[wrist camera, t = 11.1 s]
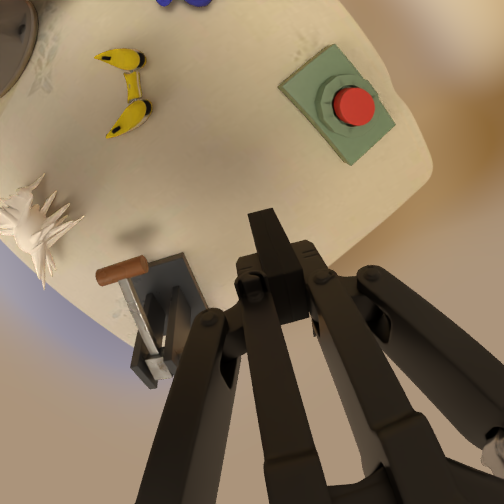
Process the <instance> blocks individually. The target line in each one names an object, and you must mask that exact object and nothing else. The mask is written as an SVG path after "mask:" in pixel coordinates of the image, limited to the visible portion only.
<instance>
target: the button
mask: <svg viewBox="0 0 504 504" xmlns="http://www.w3.org/2000/svg"><path fill="white" fill-rule="evenodd" d="M333 106H334V111H335V113H336V115H337V117H338V118H339V119H340V120H341V121H343V122H345V123H348V124H352V125H356V126H361V125H365V124H366V123H368V122H369V121H370V120H371V119H372V117H373V115H374V112H375V104H374V101H373V99H372V97H371V95H370V94H369V93H368V92H367V91H365V90H364V89H361V88H344V89H342V90H340V91H339V92H338V93H337V94H336V96H335V98H334V103H333Z"/></svg>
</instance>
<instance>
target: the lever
mask: <svg viewBox="0 0 504 504" xmlns="http://www.w3.org/2000/svg"><path fill="white" fill-rule="evenodd" d="M148 270H149V267H148V263H147V260H146V258H145V257H144V256H143V255H141V256H138V257H134V258H131V259H128V260H125V261H122V262H119V263H116V264H113V265H110V266H107V267H104V268H101V269H98V270H97V271H96V280H97V282H98V284H99V285H100V286H105V285H109V284H112V283H115V282H119V285H120V287H121V290H122V292H123V295H124V297H125V300H126V302H127V305H128V307H129V309H130V312H131V314H132V316H133V319H134V321H135V323H136V326H137V328H138V330H139V332H140V334H141V337H142V339H143V341H144V343H145V345H146V347H147V349H148V351H149V353H148V355H147V357H146V359H145V362H146V364H147V366H148V368H149V370H150V372H151V373H152V375H153V377H154V379H155V380H161V379H167V378H172V377H173V374H172V373H171V371H170V370H169V369H168V367H167V366H166V365H165V364H164V362H163V358H164V349H165V347H160V346H159V344H158V342H157V340H156V338H155V335H154V333H153V331H152V329H151V326H150V324H149V322H148V320H147V317H146V315H145V312H144V310H143V308H142V305H141V303H140V300H139V298H138V295H137V293H136V290H135V288H134V285H133V282H132V280H131V278H132V277H135V276H138V275H142V274H145V273H148Z"/></svg>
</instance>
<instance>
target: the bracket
mask: <svg viewBox="0 0 504 504" xmlns="http://www.w3.org/2000/svg"><path fill="white" fill-rule="evenodd" d="M148 267H149V270H148V273H145V274H142V275H138V276H135V277H132V278H131V280H132V282H133V285H134V288H135V290H136V293H137V295H138V298H139V300H140V303H141V305H142V308H143V310H144V312H145V315H146V317H147V320H148V322H149V324H150V326H151V329H152V331H153V333H154V335H155V338H156V340H157V342H158V344H159V346H160V347H162V339H163V336H165V335H166V340H165V349H164V358H163V362H164V364H165V365H166V366H167V367H168V369H169V370H170V371H171V373H172V374H173V375H174V376H175V373H176V370H177V367H178V364H179V361H180V358H181V355H182V352H183V349H184V346H185V343H186V341H187V338H188V335H189V332H190V329H191V326H192V323H193V321H194V319H195V317H196V315H198V314H199V313H200V312H201V311H203V310H205V309H209V308H208V306H207V304H206V302H205V300H204V298H203V295H202V293H201V291H200V289H199V287H198V285H197V282H196V280H195V278H194V276H193V274H192V271H191V269H190V267H189V265H188V262H187V260H186V258H185V256H184V253H181V254H178V255H174V256H171V257H168V258H164V259H161V260H158V261H155V262H151V263H148ZM148 353H149V351H148V349H147V347H146V345H145V343H144V341H143V339H142V337H141V334H140V332H139V330H138V332H137V337H136V341H135V346H134V351H133V356H132V361H131V366H130V368H131V369H132V370H133V371H134V372H135V374H136V375H137V376H138V377H139V378H140V379H141V380H142V381H143V382H144V383H145V385H146V386H147V387H148V388H149V389H155V388H157V383H158V380H155V379H154V377H153V375H152V373H151V372H150V370H149V368H148V366H147V364H146V362H145V359H146V357H147V355H148Z"/></svg>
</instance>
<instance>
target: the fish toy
mask: <svg viewBox="0 0 504 504" xmlns="http://www.w3.org/2000/svg"><path fill="white" fill-rule="evenodd" d="M156 1H157V2H158V3H159V4H160V5H161V6H167V5H168V4H169V3H170V2H171V1H172V0H156ZM185 1H186V2H187V3H189V4H190V5H194V6H197V7H202V6H206V5H208V4H209V3H210V2H211V1H212V0H185Z"/></svg>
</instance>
